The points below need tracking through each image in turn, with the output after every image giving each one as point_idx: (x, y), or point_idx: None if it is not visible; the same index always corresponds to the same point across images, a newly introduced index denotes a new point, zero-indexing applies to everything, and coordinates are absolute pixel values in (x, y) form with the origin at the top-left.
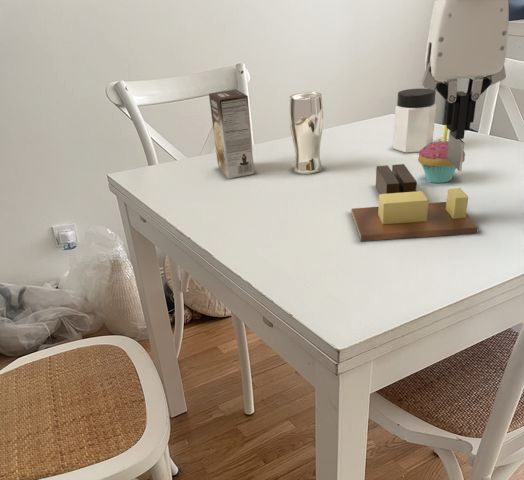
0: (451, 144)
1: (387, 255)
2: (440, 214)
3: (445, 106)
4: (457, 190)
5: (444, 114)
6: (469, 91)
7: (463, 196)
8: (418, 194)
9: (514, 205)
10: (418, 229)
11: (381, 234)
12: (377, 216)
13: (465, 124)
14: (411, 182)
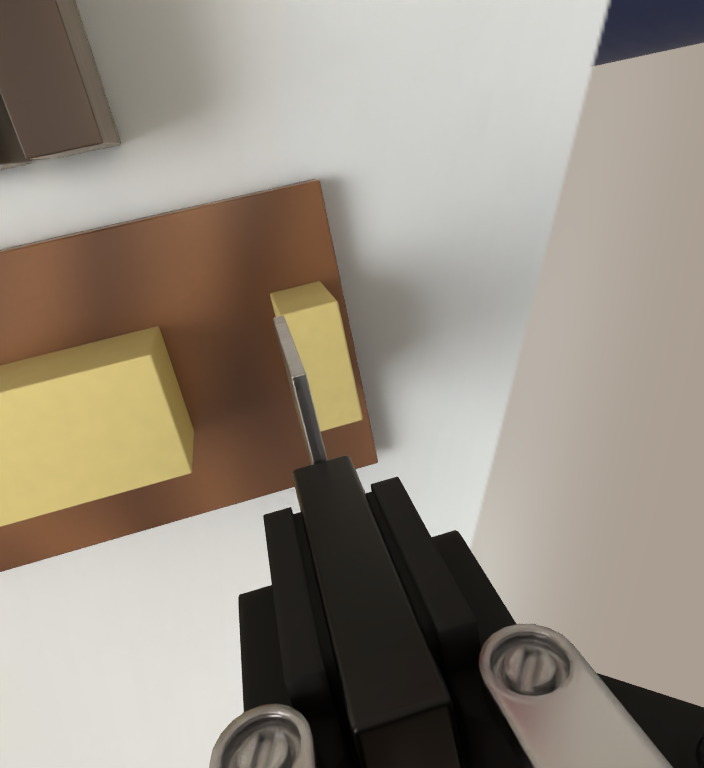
0: (300, 420)
1: (85, 646)
2: (248, 354)
3: (246, 701)
4: (322, 342)
5: (241, 638)
6: (517, 762)
7: (342, 418)
8: (138, 403)
9: (550, 161)
10: (168, 507)
11: (31, 561)
12: None
13: None
14: (71, 148)
